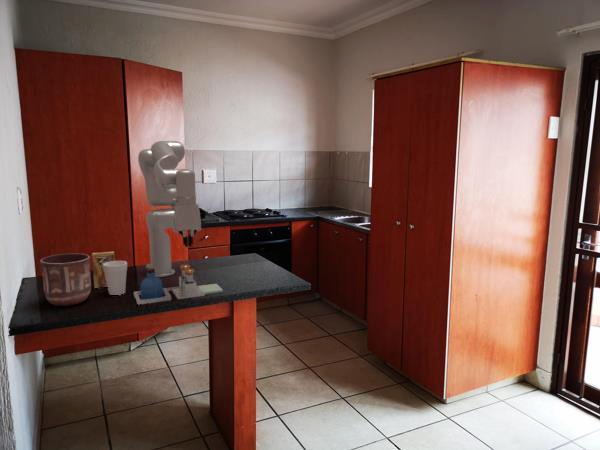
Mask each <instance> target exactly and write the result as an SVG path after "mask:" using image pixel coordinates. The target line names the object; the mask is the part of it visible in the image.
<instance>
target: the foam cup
mask: <svg viewBox="0 0 600 450" xmlns="http://www.w3.org/2000/svg"><path fill="white" fill-rule="evenodd" d="M103 271H104V273H105V278H106V283H107V287H108V288H107V291H108V295H109V294H110V295H119V296H122V295H121V294H123V295H125V294H126V285H127V284H126V283H127V271H128V262H127V261H125V260H115V261H111V262H106V263H104V264H103ZM124 293H125V294H124ZM110 295H109V296H110Z"/></svg>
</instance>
